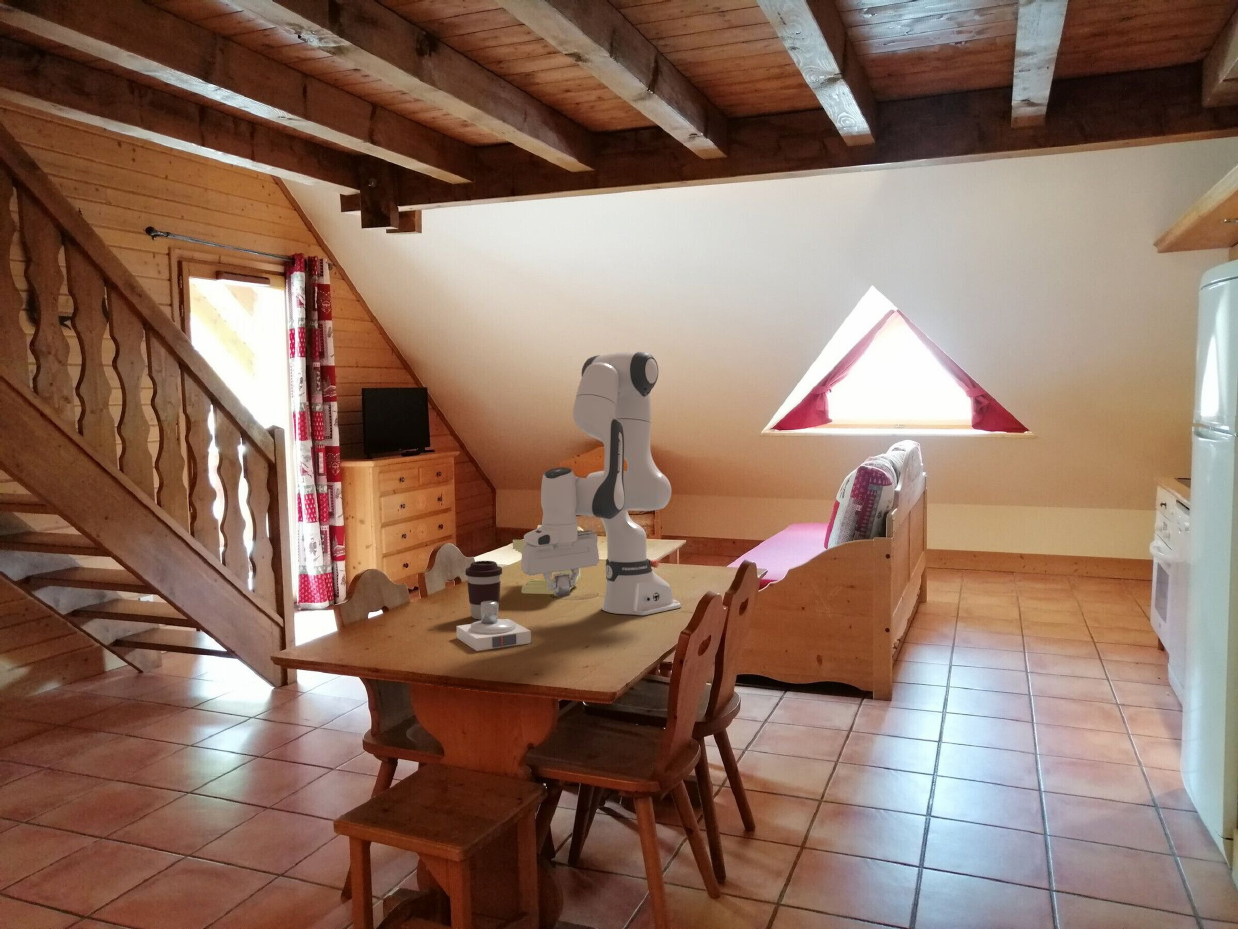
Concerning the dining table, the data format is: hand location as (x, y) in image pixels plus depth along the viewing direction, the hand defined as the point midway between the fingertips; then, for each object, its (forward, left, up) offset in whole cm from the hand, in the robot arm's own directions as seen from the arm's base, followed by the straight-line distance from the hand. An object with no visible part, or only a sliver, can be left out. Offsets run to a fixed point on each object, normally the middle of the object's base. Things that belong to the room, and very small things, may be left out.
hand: (561, 587), depth 237 cm
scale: (+17, -5, -12) cm, 21 cm away
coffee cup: (+10, -29, -12) cm, 33 cm away
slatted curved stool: (-21, -52, -13) cm, 57 cm away
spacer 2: (0, 0, -2) cm, 2 cm away
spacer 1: (+17, -7, -8) cm, 20 cm away
